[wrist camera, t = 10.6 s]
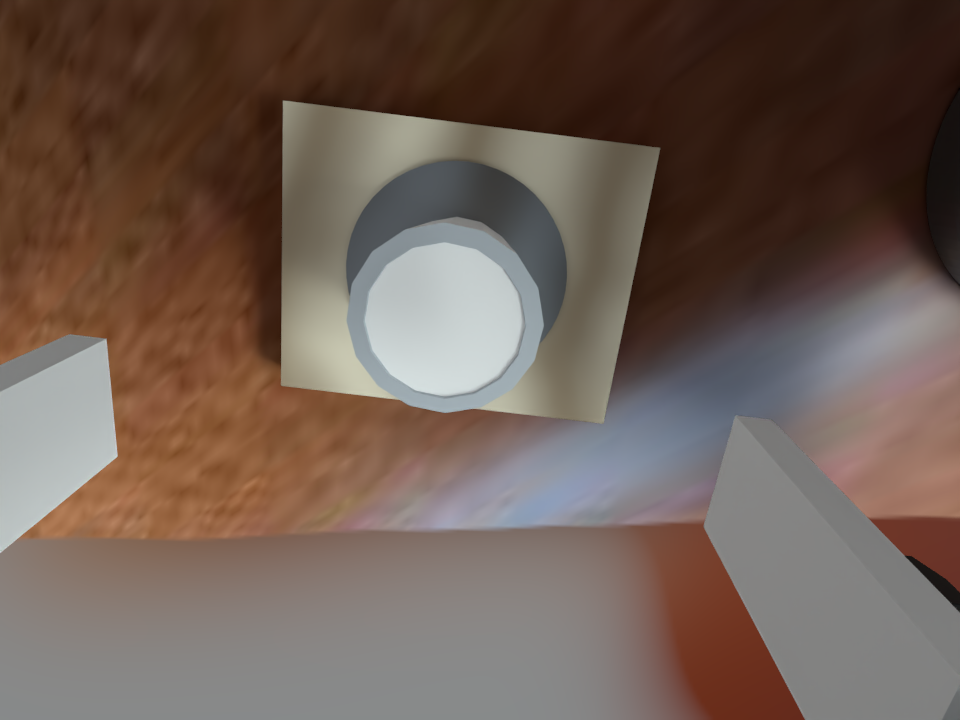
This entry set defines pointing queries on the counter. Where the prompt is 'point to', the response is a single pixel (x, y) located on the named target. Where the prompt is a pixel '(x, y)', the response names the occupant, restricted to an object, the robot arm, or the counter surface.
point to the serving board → (471, 195)
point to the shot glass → (445, 316)
